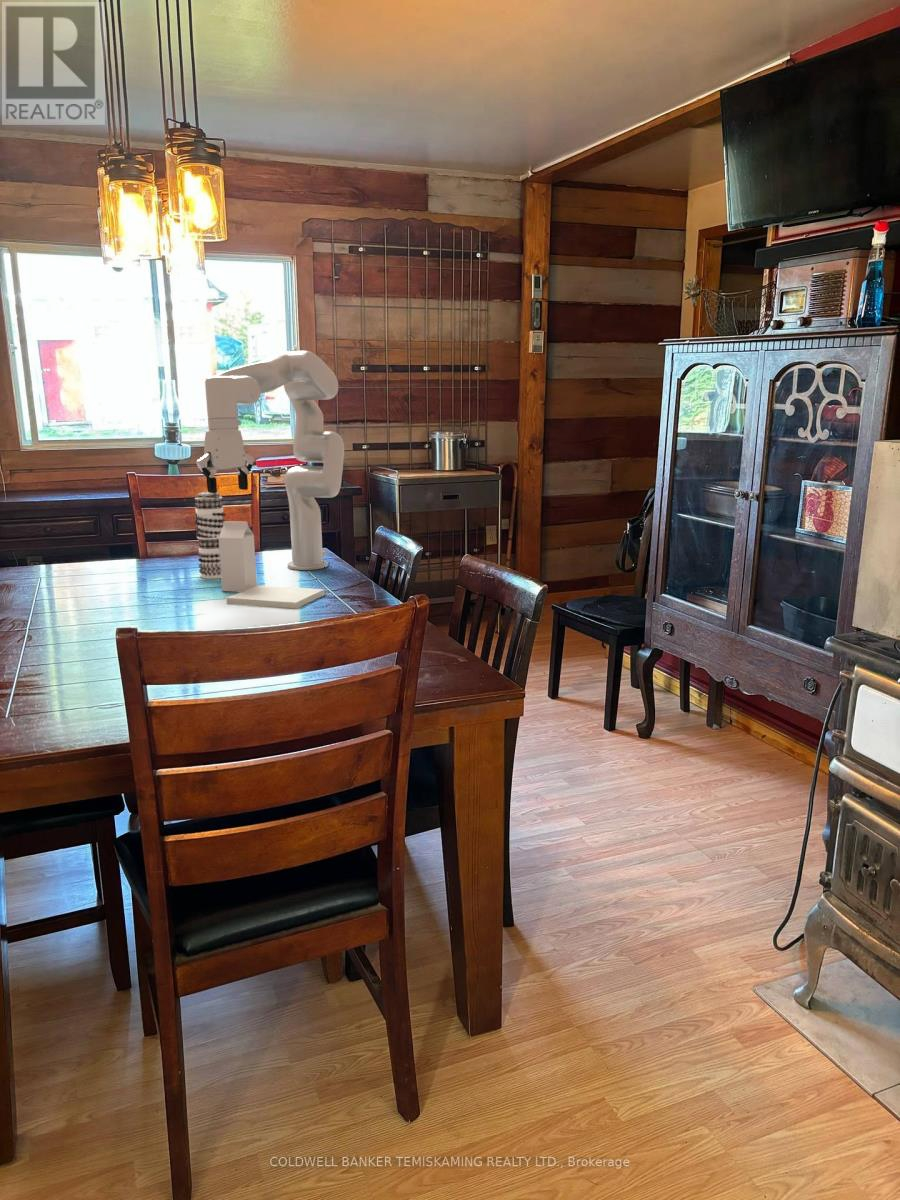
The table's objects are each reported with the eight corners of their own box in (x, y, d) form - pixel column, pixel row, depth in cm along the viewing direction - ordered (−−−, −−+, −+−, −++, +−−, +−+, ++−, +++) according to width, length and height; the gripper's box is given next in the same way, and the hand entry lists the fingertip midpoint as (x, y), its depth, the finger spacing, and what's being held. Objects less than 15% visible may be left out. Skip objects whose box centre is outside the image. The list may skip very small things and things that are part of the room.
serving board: (258, 590, 226) (258, 585, 226) (324, 594, 220) (324, 589, 220) (226, 603, 211) (226, 597, 211) (296, 608, 205) (295, 602, 205)
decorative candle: (229, 571, 253) (223, 490, 247) (231, 577, 244) (225, 493, 239) (198, 573, 250) (191, 491, 244) (199, 579, 242) (192, 494, 236)
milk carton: (246, 592, 224) (241, 523, 220) (222, 591, 225) (217, 522, 221) (257, 587, 231) (252, 519, 226) (233, 586, 232) (229, 519, 228)
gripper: (242, 424, 222) (246, 487, 226) (185, 426, 209) (191, 493, 213) (259, 424, 217) (263, 489, 221) (202, 426, 205) (208, 495, 209)
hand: (228, 491), depth 217 cm, fingers open, 9 cm apart
